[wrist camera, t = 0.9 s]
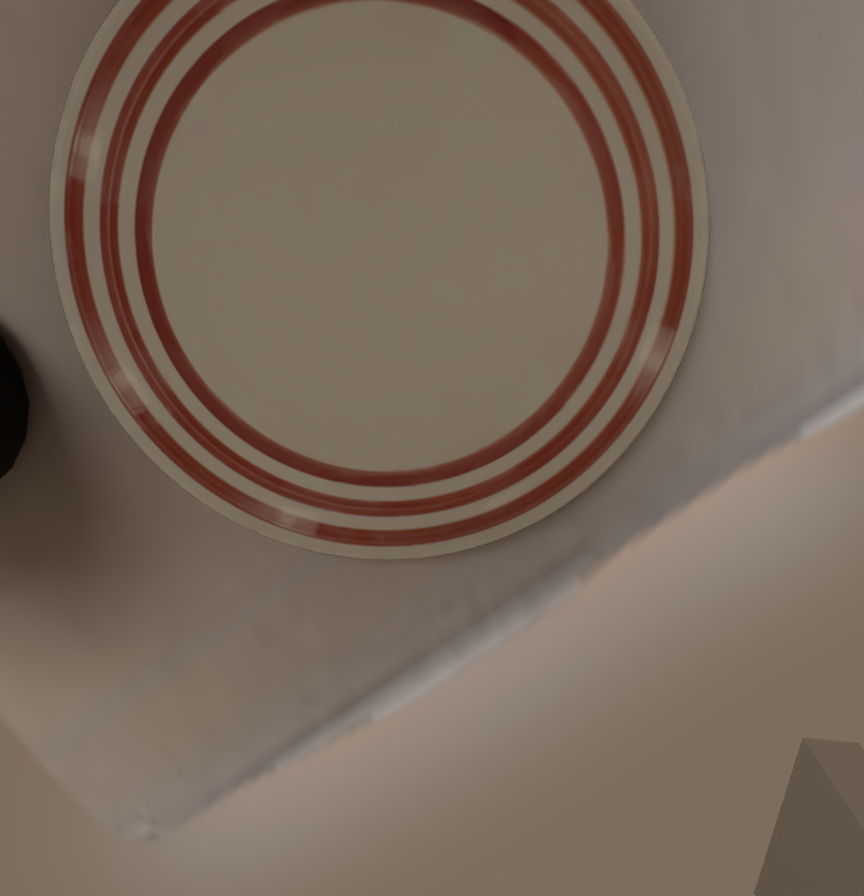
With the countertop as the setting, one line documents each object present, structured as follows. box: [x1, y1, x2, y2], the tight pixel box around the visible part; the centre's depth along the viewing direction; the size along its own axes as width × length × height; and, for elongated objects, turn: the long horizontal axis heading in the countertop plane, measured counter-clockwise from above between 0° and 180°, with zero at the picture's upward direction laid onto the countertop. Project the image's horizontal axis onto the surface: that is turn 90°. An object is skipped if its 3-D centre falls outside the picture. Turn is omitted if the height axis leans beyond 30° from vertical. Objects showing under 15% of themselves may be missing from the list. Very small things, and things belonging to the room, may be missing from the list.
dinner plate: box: [49, 0, 710, 560], centre depth 33 cm, size 27×27×3 cm
